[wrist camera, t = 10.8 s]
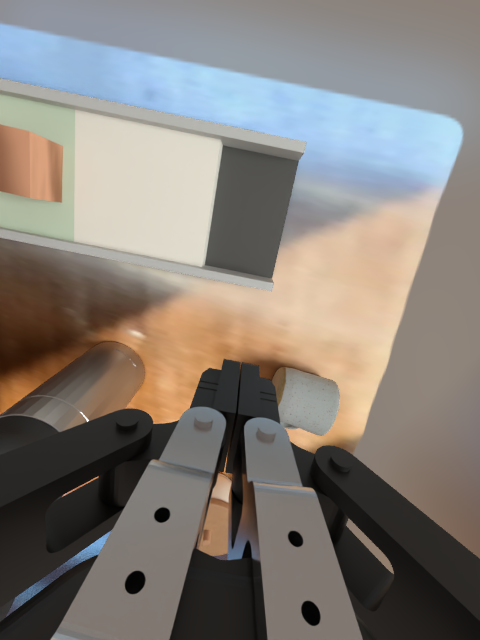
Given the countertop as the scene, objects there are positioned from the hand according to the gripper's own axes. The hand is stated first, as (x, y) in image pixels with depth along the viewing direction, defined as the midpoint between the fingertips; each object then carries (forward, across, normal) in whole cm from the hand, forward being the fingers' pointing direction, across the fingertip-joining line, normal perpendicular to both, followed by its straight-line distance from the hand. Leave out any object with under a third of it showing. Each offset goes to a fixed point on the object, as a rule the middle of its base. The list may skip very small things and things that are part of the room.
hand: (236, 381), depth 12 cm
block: (+24, +26, -8) cm, 37 cm away
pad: (+27, +27, -8) cm, 39 cm away
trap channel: (+27, +19, -8) cm, 34 cm away
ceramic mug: (+27, -10, +16) cm, 33 cm away
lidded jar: (+27, -1, +36) cm, 46 cm away
